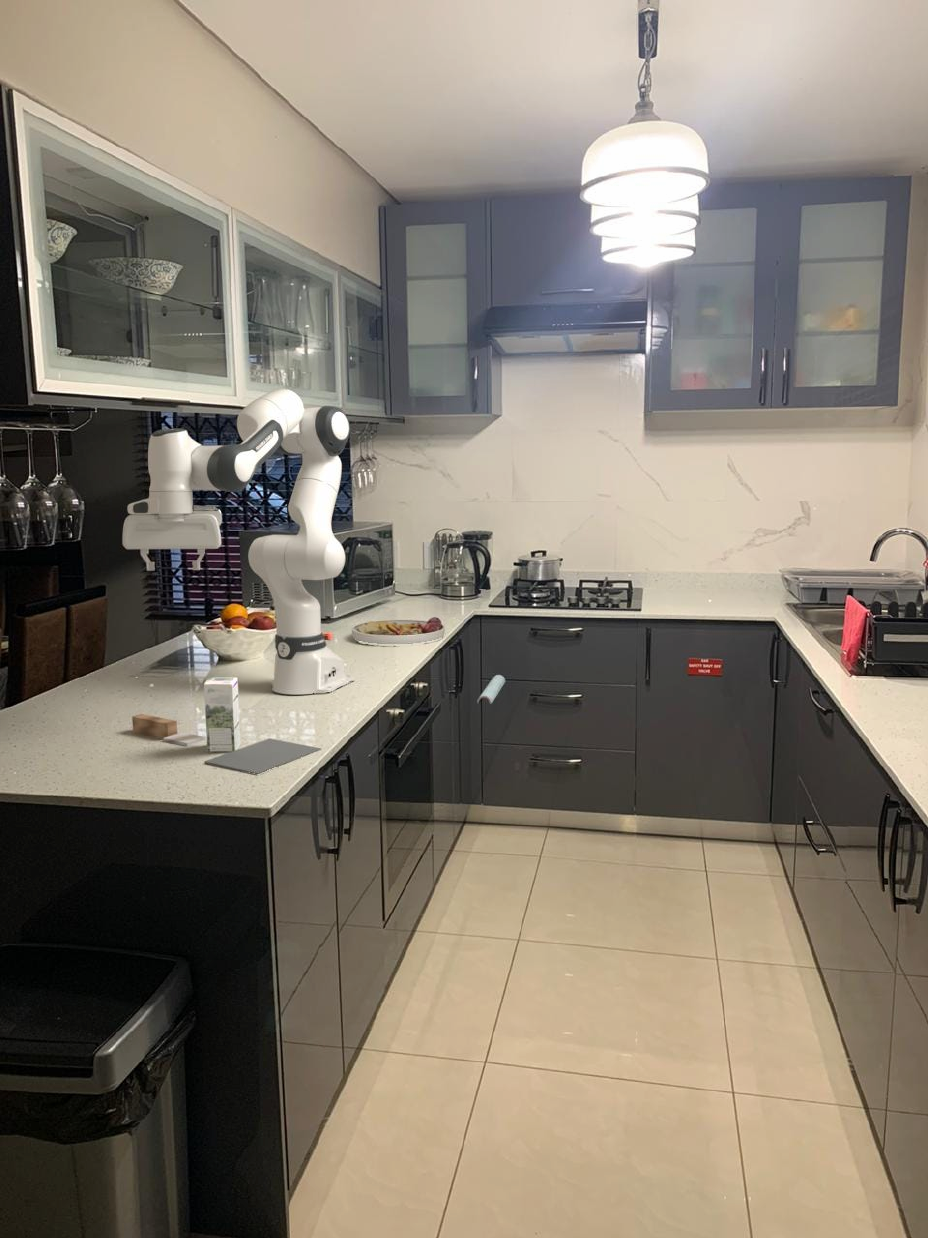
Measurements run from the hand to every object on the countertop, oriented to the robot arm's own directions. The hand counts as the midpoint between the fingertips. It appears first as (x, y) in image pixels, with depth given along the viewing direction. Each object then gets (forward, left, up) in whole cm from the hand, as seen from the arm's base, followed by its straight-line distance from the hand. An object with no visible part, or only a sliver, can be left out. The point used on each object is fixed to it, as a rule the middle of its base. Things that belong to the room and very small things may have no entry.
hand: (173, 570), depth 205 cm
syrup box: (+8, +21, -35) cm, 41 cm away
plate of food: (-106, -17, -35) cm, 113 cm away
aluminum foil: (-58, +47, -35) cm, 83 cm away
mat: (+8, +32, -35) cm, 48 cm away
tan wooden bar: (+8, +5, -35) cm, 36 cm away
